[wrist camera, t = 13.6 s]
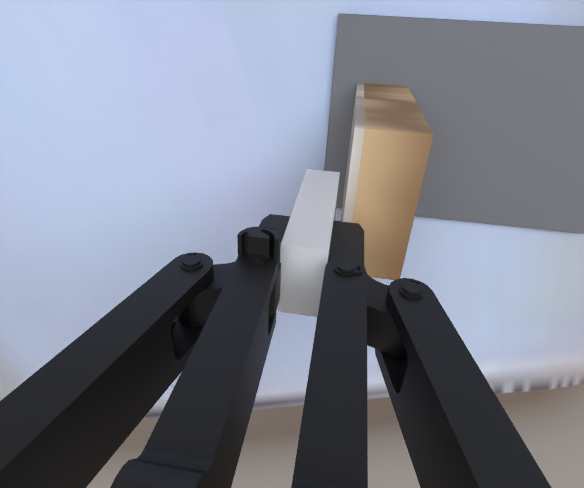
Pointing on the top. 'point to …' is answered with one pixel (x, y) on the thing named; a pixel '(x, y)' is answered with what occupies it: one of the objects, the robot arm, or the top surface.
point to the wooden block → (385, 173)
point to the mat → (476, 113)
